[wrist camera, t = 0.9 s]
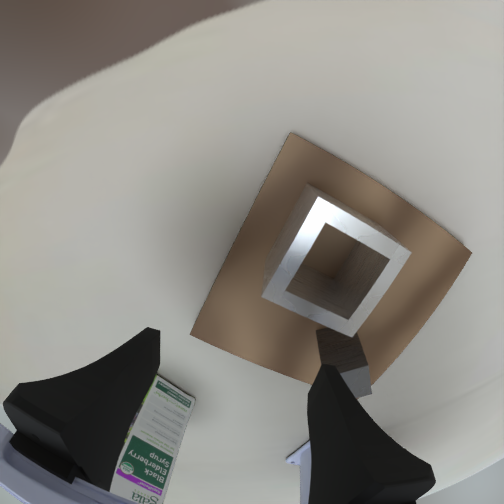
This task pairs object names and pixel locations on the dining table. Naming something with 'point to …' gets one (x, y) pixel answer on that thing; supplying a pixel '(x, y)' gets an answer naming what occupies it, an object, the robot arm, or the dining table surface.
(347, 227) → the cube with square recess
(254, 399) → the dining table surface
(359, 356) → the dark grey block
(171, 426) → the syrup box
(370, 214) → the board
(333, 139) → the dining table surface
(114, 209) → the dining table surface
